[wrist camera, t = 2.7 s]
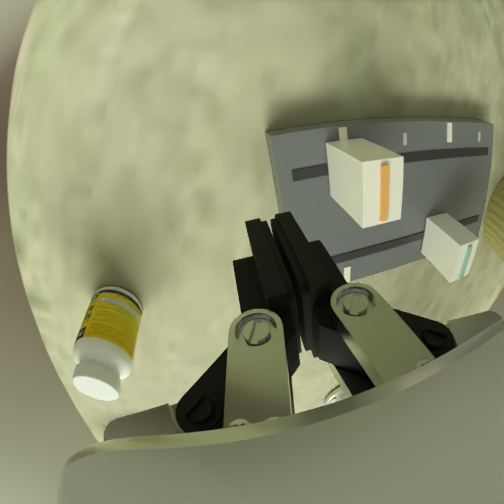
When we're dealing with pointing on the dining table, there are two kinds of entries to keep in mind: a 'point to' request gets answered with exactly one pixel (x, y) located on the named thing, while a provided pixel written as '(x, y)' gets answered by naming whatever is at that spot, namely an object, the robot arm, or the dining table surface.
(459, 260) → the fader
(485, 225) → the potted cactus
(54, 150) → the dining table surface
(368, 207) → the block
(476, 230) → the console
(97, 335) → the supplement bottle
